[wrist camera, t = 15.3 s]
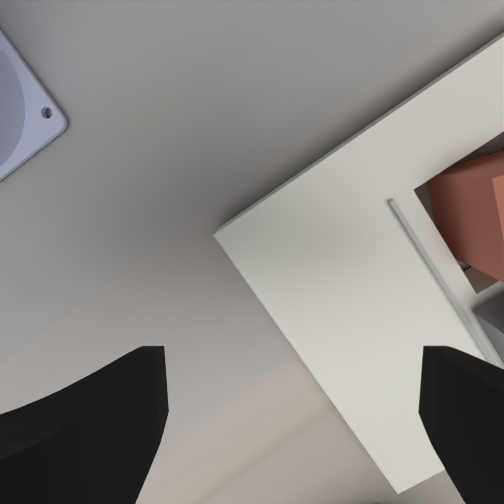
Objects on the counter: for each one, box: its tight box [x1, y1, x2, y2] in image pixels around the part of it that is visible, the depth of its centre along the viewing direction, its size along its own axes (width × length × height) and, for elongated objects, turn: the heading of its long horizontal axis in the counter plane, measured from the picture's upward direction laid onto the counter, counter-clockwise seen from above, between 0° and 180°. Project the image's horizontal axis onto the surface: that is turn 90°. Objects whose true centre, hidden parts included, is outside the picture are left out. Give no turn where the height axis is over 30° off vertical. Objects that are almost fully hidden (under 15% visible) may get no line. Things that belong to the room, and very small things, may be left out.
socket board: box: [214, 32, 504, 494], centre depth 19 cm, size 16×16×3 cm
